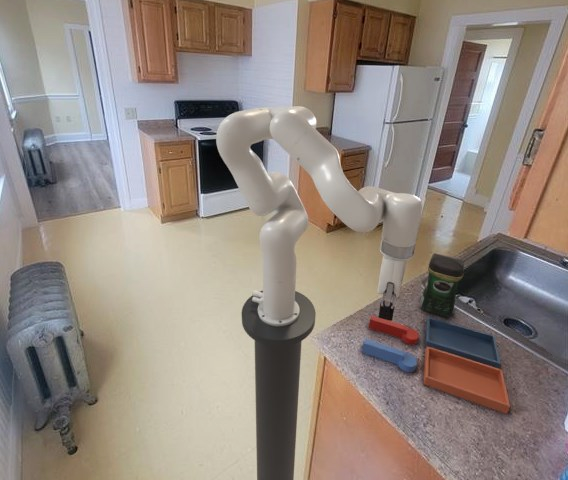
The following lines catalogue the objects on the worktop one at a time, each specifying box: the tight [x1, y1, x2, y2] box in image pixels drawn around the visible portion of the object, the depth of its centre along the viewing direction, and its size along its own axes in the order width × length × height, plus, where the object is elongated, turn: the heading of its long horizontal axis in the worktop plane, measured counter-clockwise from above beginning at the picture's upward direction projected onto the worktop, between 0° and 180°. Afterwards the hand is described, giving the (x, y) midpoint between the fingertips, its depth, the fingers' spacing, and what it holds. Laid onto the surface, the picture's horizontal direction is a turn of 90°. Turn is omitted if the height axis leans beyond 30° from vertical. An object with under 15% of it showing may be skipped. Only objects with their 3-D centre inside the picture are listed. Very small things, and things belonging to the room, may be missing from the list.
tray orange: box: [423, 346, 511, 415], centre depth 78 cm, size 17×10×2 cm, turn 66°
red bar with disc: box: [368, 315, 420, 346], centre depth 91 cm, size 13×4×3 cm, turn 66°
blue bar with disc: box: [361, 338, 418, 373], centre depth 83 cm, size 13×4×3 cm, turn 66°
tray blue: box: [424, 316, 502, 369], centre depth 88 cm, size 17×10×2 cm, turn 66°
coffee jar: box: [420, 252, 465, 318], centre depth 98 cm, size 10×8×19 cm
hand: (387, 305), depth 80 cm, fingers open, 9 cm apart
